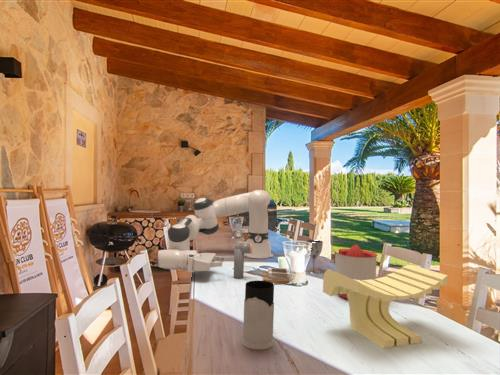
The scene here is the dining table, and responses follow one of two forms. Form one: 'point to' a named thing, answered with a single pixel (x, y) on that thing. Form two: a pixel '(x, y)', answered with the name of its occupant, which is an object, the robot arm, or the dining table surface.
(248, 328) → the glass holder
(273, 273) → the collar plate
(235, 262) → the pipe elbow
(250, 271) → the dining table surface
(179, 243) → the robot arm
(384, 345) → the slatted curved stool
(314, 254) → the wine glass
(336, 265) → the citrus juicer
